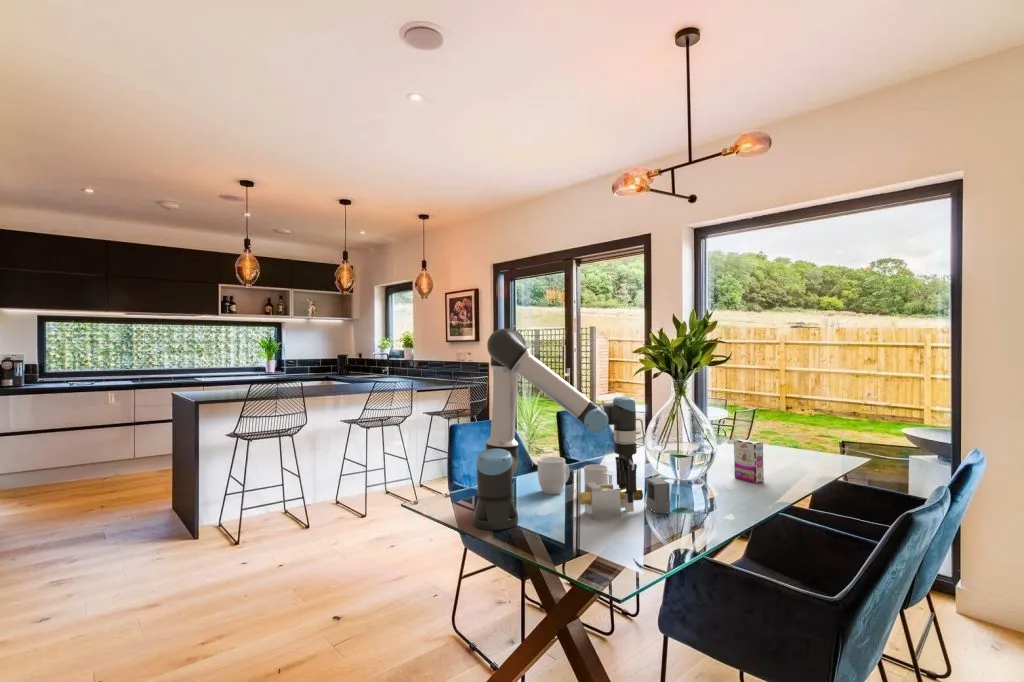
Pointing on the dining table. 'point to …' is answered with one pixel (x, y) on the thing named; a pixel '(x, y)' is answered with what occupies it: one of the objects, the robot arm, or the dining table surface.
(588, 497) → the tube
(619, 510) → the grey tube holder
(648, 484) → the socket
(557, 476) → the mug
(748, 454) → the candy bar box
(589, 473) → the mug
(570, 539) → the dining table surface
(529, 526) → the dining table surface
